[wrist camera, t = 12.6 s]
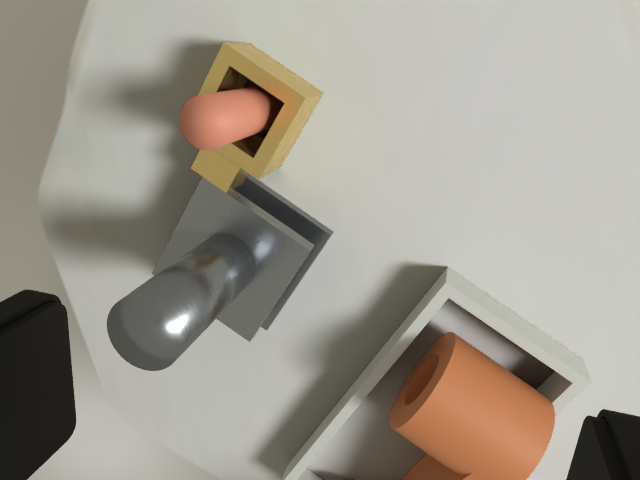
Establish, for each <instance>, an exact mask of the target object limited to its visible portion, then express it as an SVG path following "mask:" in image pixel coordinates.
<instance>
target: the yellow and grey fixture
mask: <svg viewBox="0 0 640 480" xmlns="http://www.w3.org/2000/svg"><path fill="white" fill-rule="evenodd" d="M247 79H250V80H251V81H253V82H254V83H256V84H257V85H259V86H260V87H262V88H263V89H265V90H266V91H268V92H269V93H271V94H272V95H273V96H275V97H276V98H278V99H279V100H281V101H282V102H284V105H283V107H282V109H281V110H280V112H279V114H278V116H277V118H276V119H275V121H274V123H273V125H272V126H271V128H270V130H269V132H268V134H267V135H266V137H265V139H263V138H261V137H260V136H258V135H257V134H254V135H251V136H248V137H246V138H243V139H240V140H238V141H235V142H232V143H230V144H227V145H224V146H222V147H219V148H216V149H214V150H201V149H200V151H199V153H198V155H197V157H196V159H195V161H194V163H193V165H192V167H191V169H192V170H194V171H195V172H196V173H198V174H199V175H201V176H202V178H201V180H200V182H199V184H198V186H197V188H196V190H195V192H194V194H193V196H192V197H191V199H190V201H189V203H188V205H187V207H186V209H185V211H184V213H183V215H182V217H181V218H180V220H179V222H178V224H177V226H176V228H175V230H174V232H173V234H172V236H171V238H170V239H169V241H168V243H167V245H166V247H165V249H164V251H163V253H162V255H161V257H160V259H159V260H158V262H157V264H156V266H155V268H154V270H153V272H152V274H153V275H155V276H154V277H152V278H151V279H150V280H148V281H147V282H145V283H144V284H142V285H141V286H140V287H138V288H137V289H135V290H134V291H133V292H131V293H130V294H128V295H127V296H125V297H124V298H123V299H121V300H120V301H118V302H117V303H116V304H115V305H114V306H113V307H112V309H111V310H110V313H109V315H108V319H107V330H108V335H109V338H110V340H111V343H112V345H113V346H114V348H115V349H116V351H117V352H118V353H119V354H120V356H121V357H123V358H124V359H125V360H126V361H127V362H129V363H130V364H132V365H134V366H136V367H138V368H140V369H144V370H149V371H157V370H162V369H165V368H167V367H169V366H170V365H172V364H173V363H174V362H175V361H176V359H177V358H178V357H179V356H180V355H181V354H182V353H183V352H184V351H185V350H186V349H187V348H188V347H189V346H190V345H191V344H192V343H193V342H194V341H195V340H196V339H197V338H198V337H199V336H200V335H201V333H202V332H203V331H204V330H205V329H206V328H207V327H208V326H209V325H210V324H211V323H212V322H213V321H214V320H215V319H218V320H219V321H221V322H222V323H223V324H225V325H226V326H228V327H229V328H231V329H232V330H233V331H235V332H236V333H238V334H239V335H241V336H242V337H243V338H245V339H246V340H248V341H249V342H250V341H251V340H252V338H253V337H254V336H255V334H256V333H257V331H258V330H259V328H260V327H262V328H264V329H265V330H267V329H268V328H269V327H270V325H271V324H272V322H273V321H274V319H275V318H276V316H277V315H278V313H279V312H280V310H281V309H282V308H283V306H284V305H285V303H286V302H287V300H288V299H289V297H290V296H291V294H292V293H293V291H294V290H295V288H296V287H297V285H298V284H299V282H300V281H301V279H302V278H303V276H304V275H305V273H306V272H307V270H308V269H309V267H310V266H311V265H312V263H313V262H314V260H315V259H316V257H317V256H318V254H319V253H320V251H321V250H322V248H323V247H324V245H325V244H326V242H327V241H328V239H329V238H330V236H331V235H332V233H333V231H331V230H330V229H329V228H327V227H326V226H324V225H323V224H321V223H320V222H318V221H317V220H315V219H314V218H313V217H311V216H310V215H308V214H307V213H305V212H304V211H302V210H301V209H299V208H298V207H296V206H295V205H294V204H292V203H291V202H289V201H288V200H286V199H285V198H283V197H282V196H280V195H279V194H278V193H276V192H275V191H273V190H272V189H270V188H269V187H267V186H266V185H264V184H263V183H262V182H260V181H259V180H257V179H256V178H258V179H261V178H262V177H264V176H266V175H267V174H269V173H271V172H272V171H274V170H276V169H277V168H279V167H281V165H282V163H283V162H284V160H285V158H286V157H287V155H288V153H289V151H290V150H291V148H292V146H293V145H294V143H295V141H296V140H297V138H298V136H299V134H300V133H301V131H302V129H303V128H304V126H305V124H306V123H307V121H308V119H309V117H310V116H311V114H312V112H313V111H314V109H315V107H316V106H317V104H318V102H319V100H320V99H321V97H322V95H323V94H324V93H323V92H321V91H320V90H319V89H317V88H316V87H314V86H313V85H311V84H310V83H308V82H307V81H305V80H304V79H302V78H301V77H299V76H298V75H296V74H295V73H293V72H292V71H290V70H289V69H288V68H286V67H285V66H283V65H282V64H280V63H279V62H277V61H276V60H274V59H273V58H271V57H270V56H268V55H267V54H265V53H264V52H262V51H261V50H259V49H258V48H256V47H255V46H254V45H252V44H251V43H232V42H223V44H222V46H221V48H220V50H219V52H218V54H217V56H216V58H215V60H214V63H213V65H212V67H211V69H210V71H209V73H208V75H207V77H206V79H205V81H204V83H203V85H202V87H201V89H200V91H199V94H198V95H203V94H209V93H216V92H222V91H228V90H235V89H241V88H243V87H244V85H245V83H246V81H247ZM248 173H250V174H252V175H253V176H255V177H256V178H254V177H253V176H251V175H250V174H248Z"/></svg>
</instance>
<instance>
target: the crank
mask: <svg viewBox="0 0 640 480" xmlns="http://www.w3.org/2000/svg"><path fill="white" fill-rule="evenodd" d="M554 422H555V410H554V406H553V404H552V402H551V400H550V399H549V398H547V397H546V396H544V395H543V394H541V393H540V392H538V391H537V390H535V389H534V388H533V387H531V386H530V385H528V384H527V383H525V382H524V381H522V380H521V379H520V378H518V377H517V376H515V375H514V374H512V373H511V372H509V371H508V370H506V369H505V368H504V367H502V366H501V365H499V364H498V363H496V362H495V361H493V360H492V359H490V358H489V357H488V356H486V355H485V354H483V353H482V352H480V351H479V350H477V349H476V348H475V347H473V346H472V345H470V344H469V343H467V342H466V341H464V340H463V339H461V338H460V337H459V336H457V335H456V334H454V333H453V332H449V333H446V334H444V335H443V336H441V337H440V338H439V339H438V340H436V341H435V343H434V344H433V345H432V346H431V347H430V348H429V349H428V351H427V352H426V353H425V354H424V355H423V356H422V358H421V359H420V360H419V361H418V362H417V363H416V365H415V366H414V368H413V369H412V371H411V372H410V374H409V375H408V377H407V379H406V380H405V382H404V384H403V385H402V387H401V389H400V391H399V393H398V395H397V397H396V399H395V402H394V404H393V407H392V410H391V413H390V418H389V426H390V428H391V429H393V430H394V431H396V432H397V433H399V434H400V435H401V436H403V437H404V438H406V439H407V440H409V441H410V442H411V443H413V444H414V445H416V446H417V447H419V448H420V449H421V450H423V451H424V452H426V453H427V454H426V455H425V456H424V457H423V458H422V459H421V460H420V461H419V462H418V463H417V464H416V465H415V466H414V467H413V468H412V469H411V470H410V471H409V472H408V473H407V474H406V475H405V476H404V477H403V479H402V480H526V479H527V478H528V477H529V476H530V474H531V473H532V472H533V471H534V469H535V468H536V466H537V465H538V463H539V462H540V460H541V458H542V457H543V455H544V453H545V451H546V449H547V446H548V444H549V442H550V439H551V436H552V432H553V428H554ZM347 480H352V479H347Z"/></svg>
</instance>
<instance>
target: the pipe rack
mask: <svg viewBox="0 0 640 480" xmlns="http://www.w3.org/2000/svg"><path fill="white" fill-rule="evenodd" d="M448 298H449V299H451V300H452V301H454V302H455V303H457V304H458V305H460V306H461V307H463V308H464V309H465V310H467V311H468V312H470V313H471V314H473V315H474V316H476V317H477V318H479V319H480V320H481V321H483V322H484V323H486V324H487V325H489V326H490V327H492V328H493V329H495V330H496V331H497V332H499V333H500V334H502V335H503V336H505V337H506V338H508V339H509V340H511V341H512V342H514V343H515V344H516V345H518V346H519V347H521V348H522V349H524V350H525V351H527V352H528V353H530V354H531V355H532V356H534V357H535V358H537V359H538V360H540V361H541V362H543V363H544V364H546V365H547V366H549V367H550V368H551V369H553V370H554V371H555V372H554V373H553V374H552V375H551V376H550V377H549V378H548V379H547V380H546V381H545V382H543V383H542V384H541V385H540V386H539V387H538V388H537V389H536V390H537V391H538V392H540V393H541V394H543V395H544V396H546V397H547V398H549V399H550V400H551V402H552V404H553V406H554V410H555V416H556V415H557V414H558V413H559V412H560V411H561V410H562V409H563V408H565V407H566V406H567V405H568V404H569V403H570V402H571V401H572V400H573V399H574V398H575V397H576V396H577V395H578V394H579V393H581V392H582V391H583V390H584V389H585V388H586V387H587V386H588V385H589V384H590V383H591V380H590V377H589V374H588V371H587V369H586V366H585V363H584V360H583V359H582V358H581V357H579V356H578V355H576V354H575V353H573V352H572V351H570V350H569V349H568V348H566V347H565V346H563V345H562V344H560V343H559V342H557V341H556V340H554V339H553V338H551V337H550V336H548V335H547V334H546V333H544V332H543V331H541V330H540V329H538V328H537V327H535V326H534V325H532V324H531V323H529V322H528V321H527V320H525V319H524V318H522V317H521V316H519V315H518V314H516V313H515V312H513V311H512V310H510V309H509V308H508V307H506V306H505V305H503V304H502V303H500V302H499V301H497V300H496V299H494V298H493V297H491V296H490V295H489V294H487V293H486V292H484V291H483V290H481V289H480V288H478V287H477V286H475V285H474V284H472V283H471V282H470V281H468V280H467V279H465V278H464V277H462V276H461V275H459V274H458V273H456V272H455V271H453V270H452V269H451V268H449V267H447V268H446V269H445V270H444V272H443V273H442V274H441V275H440V277H439V278H438V279H437V280H436V282H435V283H434V284H433V285H432V287H431V288H430V289H429V290H428V292H427V293H426V294H425V295H424V296H423V298H422V299H421V300H420V301H419V303H418V304H417V305H416V306H415V308H414V309H413V310H412V311H411V313H410V314H409V315H408V316H407V318H406V319H405V320H404V321H403V322H402V324H401V325H400V326H399V327H398V329H397V330H396V331H395V332H394V334H393V335H392V336H391V337H390V339H389V340H388V341H387V342H386V344H385V345H384V346H383V347H382V348H381V350H380V351H379V352H378V353H377V355H376V356H375V357H374V358H373V360H372V361H371V362H370V363H369V365H368V366H367V367H366V368H365V369H364V371H363V372H362V373H361V374H360V376H359V377H358V378H357V379H356V381H355V382H354V383H353V384H352V386H351V387H350V388H349V389H348V391H347V392H346V393H345V394H344V395H343V397H342V398H341V399H340V400H339V402H338V403H337V404H336V405H335V407H334V408H333V409H332V410H331V412H330V413H329V414H328V415H327V417H326V418H325V419H324V420H323V421H322V423H321V424H320V425H319V426H318V428H317V429H316V430H315V431H314V433H313V434H312V435H311V436H310V438H309V439H308V440H307V441H306V443H305V444H304V445H303V446H302V447H301V449H300V450H299V451H298V452H297V454H296V455H295V456H294V457H293V459H292V460H291V461H290V462H289V464H288V466H287V468H286V470H285V472H284V474H283V477H282V479H281V480H323V479H321V478H320V477H318V476H317V475H315V474H314V473H313V472H311V471H310V470H308V469H307V467H308V466H309V465H310V463H311V462H312V461H313V460H314V459H315V457H316V456H317V455H318V454H319V453H320V451H321V450H322V449H323V448H324V447H325V445H326V444H327V443H328V442H329V441H330V439H331V438H332V437H333V436H334V435H335V433H336V432H337V431H338V430H339V429H340V427H341V426H342V425H343V424H344V423H345V421H346V420H347V419H348V418H349V417H350V416H351V414H352V413H353V412H354V411H355V410H356V408H357V407H358V406H359V405H360V404H361V402H362V401H363V400H364V399H365V398H366V396H367V395H368V394H369V393H370V392H371V390H372V389H373V388H374V387H375V386H376V384H377V383H378V382H379V381H380V380H381V378H382V377H383V376H384V375H385V374H386V372H387V371H388V370H389V369H390V368H391V366H392V365H393V364H394V363H395V362H396V360H397V359H398V358H399V357H400V356H401V354H402V353H403V352H404V351H405V350H406V348H407V347H408V346H409V345H410V344H411V342H412V341H413V340H414V339H415V338H416V336H417V335H418V334H419V333H420V332H421V330H422V329H423V328H424V327H425V326H426V324H427V323H428V322H429V321H430V320H431V318H432V317H433V316H434V315H435V314H436V312H437V311H438V310H439V309H440V308H441V306H442V305H443V304H444V303H445V302H446V300H447V299H448Z"/></svg>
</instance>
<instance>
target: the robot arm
mask: <svg viewBox="0 0 640 480" xmlns="http://www.w3.org/2000/svg"><path fill="white" fill-rule="evenodd" d="M75 425H76V412H75V400H74V388H73V376H72V365H71V353H70V341H69V330H68V318H67V311H66V308H65V306H64V305H62V304H61V301H60V300H59V298H58V297H57V296H56V295H53V294H48V293H43V292H38V291H33V290H23V291H21V292H19V293H17V294H15V295H13V296H12V297H9V298H7V299H6V300H4V301H2V302H0V480H27V479H28V478H29V477H30V476H31V475H32V474H33V473H34V472H35V471H36V470H37V469H38V468H39V467H40V466H42V465H43V464H44V462H46V461H47V460H48V459H49V458H50V457H51V456H52V455H53V454H54V453H55V452H56V451H57V450H58V449H59V448H60V447H61V446H62V445H63V444H64V443H66V442H67V440H68V439H69V438H70V437H71V435H72V434H73V431H74V429H75ZM566 480H640V417H639V416H634V415H629V414H624V413H619V412H615V411H610V410H605V409H603V410H601V411H600V412H599V414H598V416H597V417H593V416H586V418H585V419H584V422H583V425H582V428H581V432H580V435H579V438H578V442H577V445H576V449H575V452H574V456H573V459H572V462H571V466H570V469H569V473H568V476H567V479H566Z"/></svg>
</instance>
